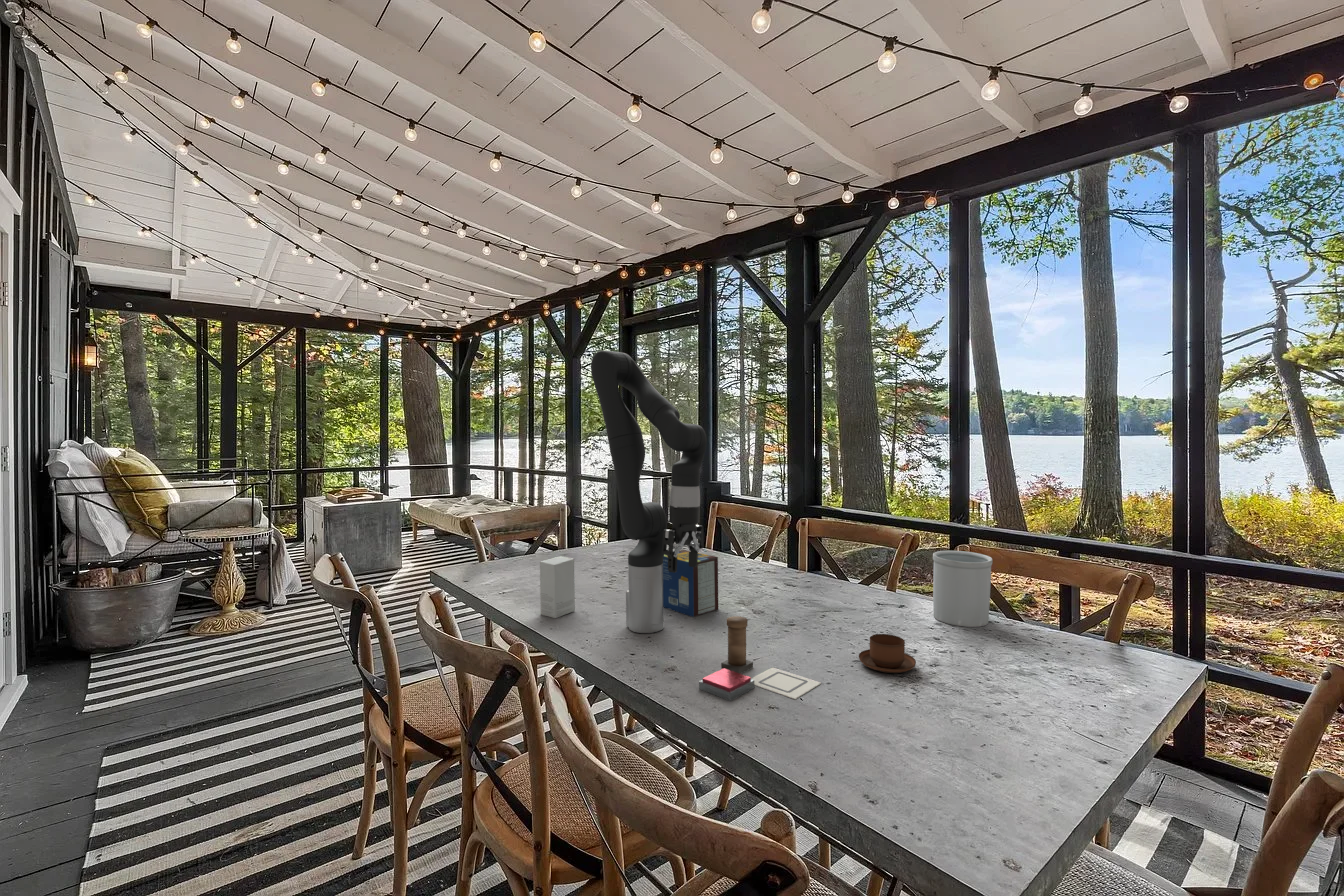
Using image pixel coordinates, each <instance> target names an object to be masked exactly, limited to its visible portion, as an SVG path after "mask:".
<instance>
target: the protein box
mask: <svg viewBox="0 0 1344 896" xmlns="http://www.w3.org/2000/svg"><path fill="white" fill-rule="evenodd" d="M689 552H690V551H689V550H685V549H681V550H679V552H678V555H677V572H675V573H673V572H669V571H668V556H667V555H664V557H663V609H664V608H665V609H668V610H670V611H673V612H676V613H680V614H683V615H686V616H690V617H693V618H694V617H698V616H701V615H704V614H707V613H711V612H714V611H717V610H719V558H718V556H715V555H710V554H705V553H700V552H698V563H697V567H690V566H689Z"/></svg>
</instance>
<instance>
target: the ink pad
mask: <svg viewBox="0 0 1344 896" xmlns="http://www.w3.org/2000/svg"><path fill="white" fill-rule="evenodd" d="M751 678H752V677H750V676H748V675H745V674H744V673H741V674H740V673H737V672H734V671H731V670H728V669H725V668H721V669H720V670H717V671H715V672H713V673H711V674H709V675H706V676H705V677H703V678H702V679H701V680H699V681H698V689H699V690H701V691H703V692H706V693H709V694H711V695H714V696H717V697H719V698H721V697H722V699H724V700H727V701H729V702H731V701H732V700H735V699H736V698H738V697H740V696H742V695H743V694H746V693H748V692H749V691H752V690H753V689H755V685H754V680H752V679H751Z"/></svg>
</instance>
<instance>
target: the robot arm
mask: <svg viewBox="0 0 1344 896" xmlns="http://www.w3.org/2000/svg"><path fill="white" fill-rule="evenodd" d="M590 372H591V377H592V381H593V385H594V387H595V391H596V395H597V398H598V400H599V405H600V408H601V412H602V417H603V421H604V426H605V429H606V431H605V432H606V435H607V436H606V437H607V442H608V447H609V452H610V453H609V454H610V457H611V460H612V466H613V471H614V476H615V482H616V489H617V497H618V508H619V509H618V510H619V516H620V517H619V518H620V523H621V527H622V530H623V532H624V534H625V536H626V537H627V538H629V539H630V540H631V541H638V542H637V545H636V546H635V547H634V548H633V549H632V550H631V551H630V552H629V553H628V555H627V563H628V565H627V572H628V573H627V574H628V576H627V577H628V578H627V579H628V581H627V582H628V584H627V585H628V590H626V592H625V615H626V617H625V618H626V620H625V624H626V625H625V627H626V628H628V630H630V631H631V632H634V633H638V634H639V633H640V634H651V633H652V634H653V633H657V632H660V631H661V630H663V629H664V607H663V557H664V555H667V556H668V571H669V572H673V573H675V572H677V555H678V552H679V550H683V547H685V546H687V548H688V551H690V552H689V566H690V567H697V563H698V553H700V550H702V549H704V547H705V546H704V543H705V542H704V541H705V539H704V538H705V537H704V534H705V533H704V532H705V531H704V525H700V524H699V523H700V515H701V509H700V508H701V492H700V489H701V488H700V480H701V479H700V477H701V475H700V474H701V467H702V463H703V461H704V457H705V453H706V449H707V434H706V431H705V430H704V428H703V427H702V426H701V425H699V424H696V423H684V422H683V421H681V419H680V418H681V414H680V412H679V411H678V409H677V408H676V407H675V406H674V405H673V404H672V403H671V402H670V401H669V400H668V399H667V398H666V397H664V396H663V395H662V394H661V393H660V392H659V391H658V390H657V389H656V388H655V387H654V385H653V384H652V383H651V382H650V380H649V379H648V378H647V377H646V375H645V374H644V372H643V371H642V370H641V368H640V366H638V364H637V363H636V362H635V360H634V359H633V358H632V357H631V356H630V355H629V354H628V353H625V352H622V351H615V350H598V351H596V352H595V353H594V354H593V356H592V359H591V362H590ZM620 386H621V387H623V388H624V389H626V390H628V391H629V392H630V393H632V394H633V396H634V397H635V399H636V402H637V406H638V408H639V410H640V412H641V414H642V415H643V416H644V417H645V418H646V419H647V420H648V421H649V422H650V423H651V424H652V425H653V426H654V427H655V428H656V429H657V431H658V433H659V434H660V436H661V438H662V439H663V441H664V443H665V444H666V445H667V446H668V447H669V448H670V449H671V450H673V451H675V452H680V453H682V454H681V456H680V459H679V460H678V461H677V462H674V463H673V464H672V467H671V476H670V477H671V478H670V484H671V485H670V493H669V509H668V511H669V512H668V513H669V514H668V515H669V516H668V521H667V514H666V512H665V509H664V508H663V506H662V505H661V504H660V503H657V502H654V501H649V502H643V500H642V496H641V489H640V481H641V480H640V478H641V475H642V470H643V468H644V462H645V459H646V448H645V442H644V438H643V437H644V436H643V432H642V430H641V426H640V425H639V422H638V421H637V420H636V417H634V415H633V414H632V412H631V411H630V410H629V408H628V407H627V405H626V404H625V402H624V400H623V398H622V395H621V392H620V388H619V387H620ZM667 522H669V523H670V524H672V526H671V529H667V527H668V523H667ZM667 547H668V548H667Z"/></svg>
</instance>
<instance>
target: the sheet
mask: <svg viewBox="0 0 1344 896" xmlns="http://www.w3.org/2000/svg"><path fill="white" fill-rule="evenodd" d="M751 679H752V680H754V687H757V688H760V689H764V690H767V691H769V692H772V693H776V694H779V695H780V696H784V697H786V698H788V699H789V698H790V699H793V700H797V699H799V698H800V697H802V696H803V695H805V694H807V693H808V692H810V691H812V690H813V689H815V688H816V687H819V686H820V685H821V684H822V682H820V681H817V680H813V679H811V678H807V677H805V676H802V675H798V674H795V673H792V672H789V671H785V670H783V669H778V668H776V667H771V668H768V669H767V670H765V671H762V672H761V673H759V674H757V675H755V676H753V677H751Z"/></svg>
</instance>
